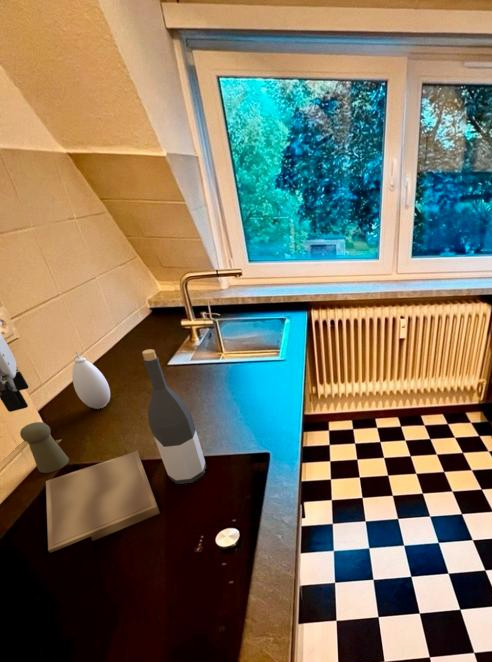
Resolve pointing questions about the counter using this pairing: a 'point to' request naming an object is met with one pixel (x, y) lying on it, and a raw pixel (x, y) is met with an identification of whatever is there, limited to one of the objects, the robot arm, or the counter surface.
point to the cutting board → (98, 501)
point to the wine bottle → (173, 427)
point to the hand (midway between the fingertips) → (19, 399)
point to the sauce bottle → (90, 384)
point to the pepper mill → (44, 447)
